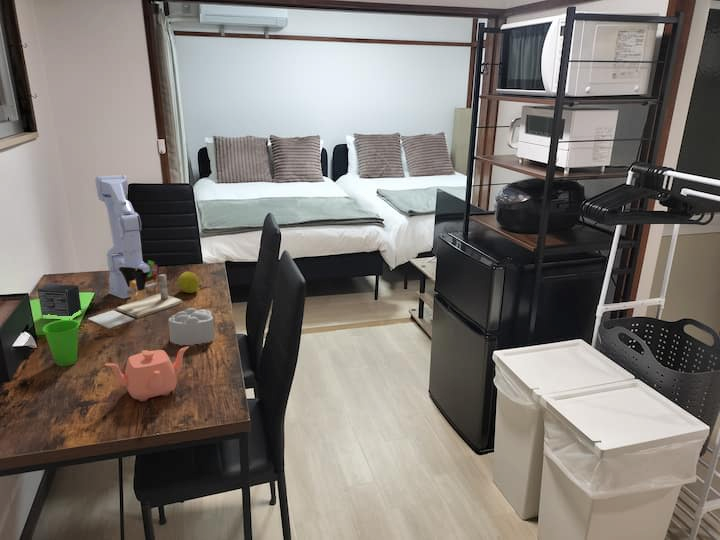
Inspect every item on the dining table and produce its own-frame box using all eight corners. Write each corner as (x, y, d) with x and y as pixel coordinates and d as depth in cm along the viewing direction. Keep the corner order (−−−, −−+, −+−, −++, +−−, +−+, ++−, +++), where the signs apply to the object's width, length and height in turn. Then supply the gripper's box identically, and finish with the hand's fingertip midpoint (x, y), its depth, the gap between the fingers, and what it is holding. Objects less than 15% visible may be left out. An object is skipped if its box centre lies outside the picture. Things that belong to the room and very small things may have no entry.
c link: (130, 297, 181) (129, 281, 179) (134, 296, 182) (133, 279, 181) (139, 300, 179) (138, 284, 177) (143, 299, 180) (142, 282, 178)
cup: (47, 372, 140) (41, 335, 137) (48, 358, 148) (42, 322, 144) (85, 366, 144) (79, 329, 141) (84, 352, 152) (79, 317, 148)
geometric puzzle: (156, 266, 222) (144, 254, 216) (165, 269, 218) (154, 257, 212) (144, 279, 218) (132, 267, 213) (154, 283, 215) (142, 271, 209)
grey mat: (87, 319, 173) (87, 318, 173) (113, 311, 180) (112, 310, 180) (109, 328, 167) (108, 327, 167) (134, 319, 174) (134, 318, 174)
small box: (83, 313, 178) (79, 284, 175) (71, 321, 172) (67, 291, 168) (54, 311, 179) (49, 282, 175) (41, 319, 172) (36, 289, 169)
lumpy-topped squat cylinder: (215, 342, 161) (214, 316, 158) (171, 348, 156) (168, 321, 153) (211, 328, 170) (210, 304, 167) (169, 334, 165) (167, 308, 162)
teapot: (192, 381, 139) (189, 343, 135) (162, 410, 125) (158, 370, 122) (143, 373, 141) (139, 336, 138) (108, 402, 128) (103, 362, 124)
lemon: (199, 296, 197) (198, 276, 194) (177, 297, 195) (176, 277, 192) (200, 286, 207) (199, 267, 204) (179, 287, 205) (178, 268, 202)
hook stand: (117, 309, 182) (113, 282, 179) (161, 295, 196) (159, 270, 193) (138, 318, 175) (135, 290, 172) (182, 302, 190) (180, 276, 187)
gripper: (108, 248, 176) (112, 286, 180) (134, 256, 168) (138, 295, 172) (127, 244, 181) (131, 281, 186) (153, 251, 174) (157, 290, 178)
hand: (136, 287), depth 179 cm, fingers closed on c link, 5 cm apart
